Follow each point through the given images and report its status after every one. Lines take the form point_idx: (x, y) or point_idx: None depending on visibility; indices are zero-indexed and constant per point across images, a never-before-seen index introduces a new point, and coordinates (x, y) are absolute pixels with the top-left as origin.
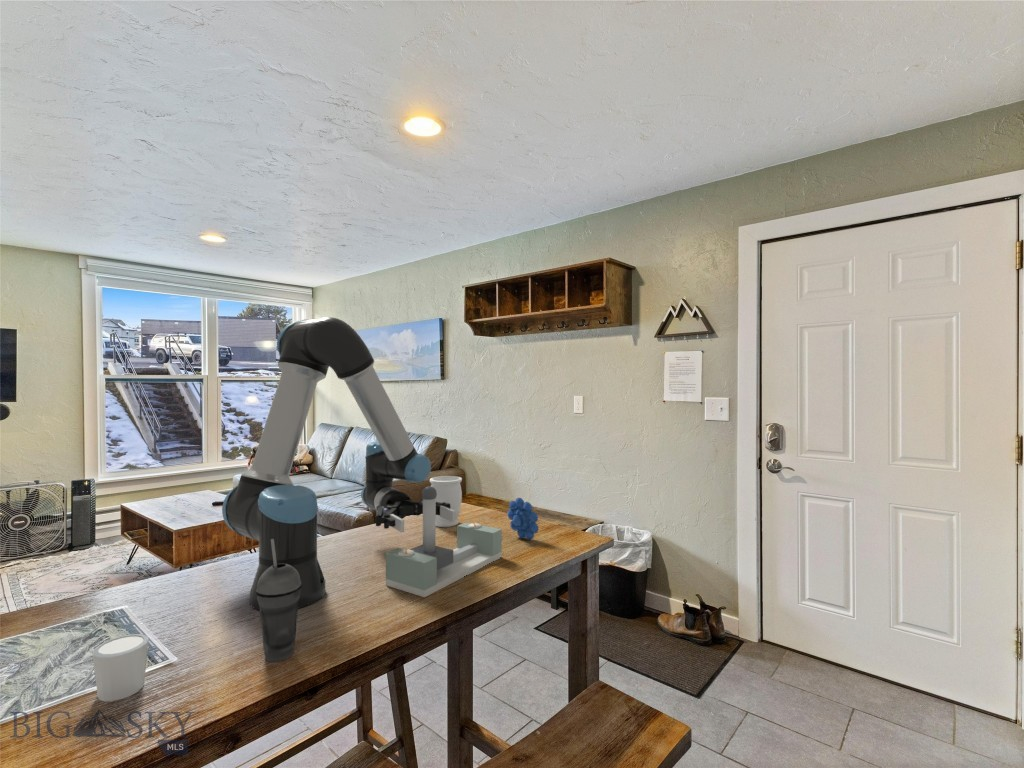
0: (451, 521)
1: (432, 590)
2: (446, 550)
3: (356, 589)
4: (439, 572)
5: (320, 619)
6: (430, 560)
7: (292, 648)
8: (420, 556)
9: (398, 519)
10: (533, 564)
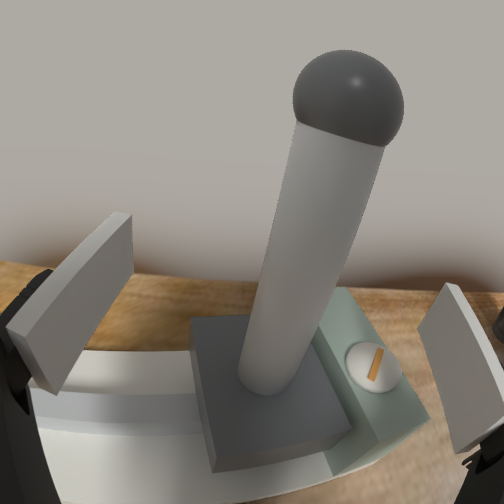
0: (127, 278)
1: None
2: (211, 330)
3: (436, 476)
4: None
5: None
6: None
7: (496, 320)
8: (337, 324)
9: (469, 308)
10: (14, 281)
